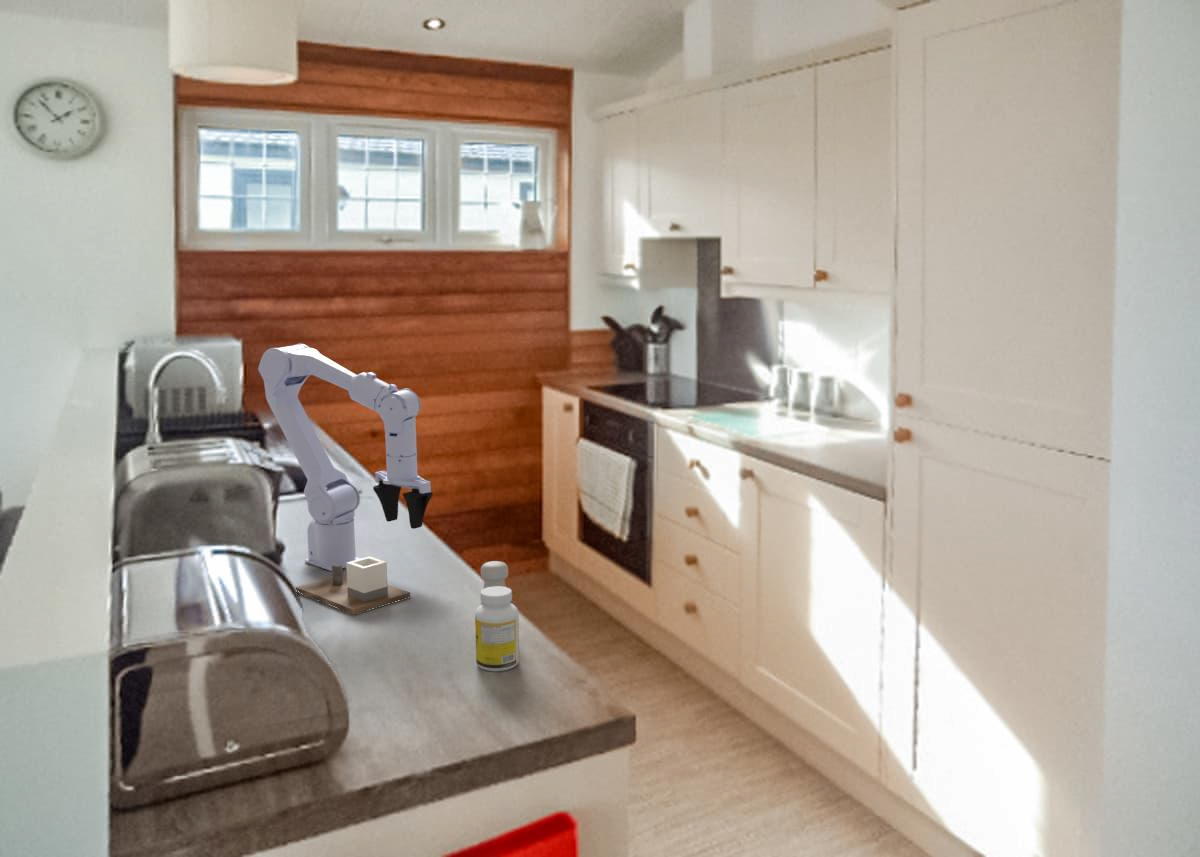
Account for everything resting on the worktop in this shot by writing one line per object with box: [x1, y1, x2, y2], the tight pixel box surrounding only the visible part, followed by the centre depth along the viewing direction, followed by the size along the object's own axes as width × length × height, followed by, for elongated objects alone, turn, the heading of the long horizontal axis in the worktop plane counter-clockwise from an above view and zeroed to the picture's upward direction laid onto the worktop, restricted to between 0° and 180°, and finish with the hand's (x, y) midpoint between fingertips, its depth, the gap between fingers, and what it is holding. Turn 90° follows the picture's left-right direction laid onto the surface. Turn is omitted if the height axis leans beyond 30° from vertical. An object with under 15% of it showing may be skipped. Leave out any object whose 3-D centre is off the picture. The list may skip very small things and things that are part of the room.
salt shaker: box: [480, 560, 509, 605], centre depth 170 cm, size 6×6×13 cm
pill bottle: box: [474, 586, 520, 672], centre depth 161 cm, size 6×6×12 cm
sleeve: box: [346, 555, 389, 601], centre depth 190 cm, size 5×5×6 cm
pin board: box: [295, 564, 411, 616], centre depth 193 cm, size 18×12×4 cm, turn 48°
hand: (403, 523), depth 205 cm, fingers open, 7 cm apart
